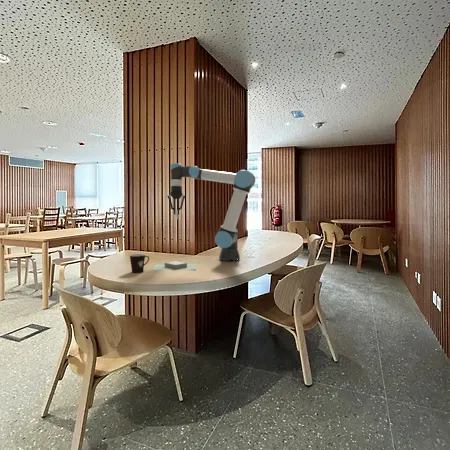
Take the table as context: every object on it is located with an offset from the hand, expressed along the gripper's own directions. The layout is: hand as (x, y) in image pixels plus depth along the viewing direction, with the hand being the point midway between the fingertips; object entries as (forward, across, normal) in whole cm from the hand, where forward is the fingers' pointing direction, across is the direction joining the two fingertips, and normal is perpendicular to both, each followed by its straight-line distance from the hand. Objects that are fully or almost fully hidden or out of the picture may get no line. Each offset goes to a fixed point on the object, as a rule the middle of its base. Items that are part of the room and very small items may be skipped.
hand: (176, 219), depth 221 cm
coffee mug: (+30, +20, +36) cm, 51 cm away
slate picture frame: (+28, +3, +23) cm, 36 cm away
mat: (+29, 0, +26) cm, 39 cm away
